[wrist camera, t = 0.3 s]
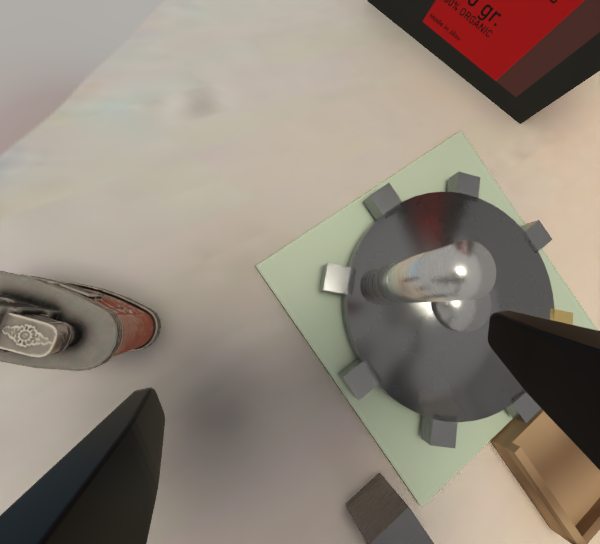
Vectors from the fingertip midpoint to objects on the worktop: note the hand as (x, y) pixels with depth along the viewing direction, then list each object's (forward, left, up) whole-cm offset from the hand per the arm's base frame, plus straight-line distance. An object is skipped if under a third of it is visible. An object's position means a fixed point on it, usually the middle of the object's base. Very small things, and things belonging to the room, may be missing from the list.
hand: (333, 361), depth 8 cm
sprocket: (-6, -11, -14) cm, 19 cm away
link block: (-15, +1, -14) cm, 20 cm away
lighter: (+7, +9, -14) cm, 18 cm away
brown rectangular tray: (-20, -11, -14) cm, 27 cm away
